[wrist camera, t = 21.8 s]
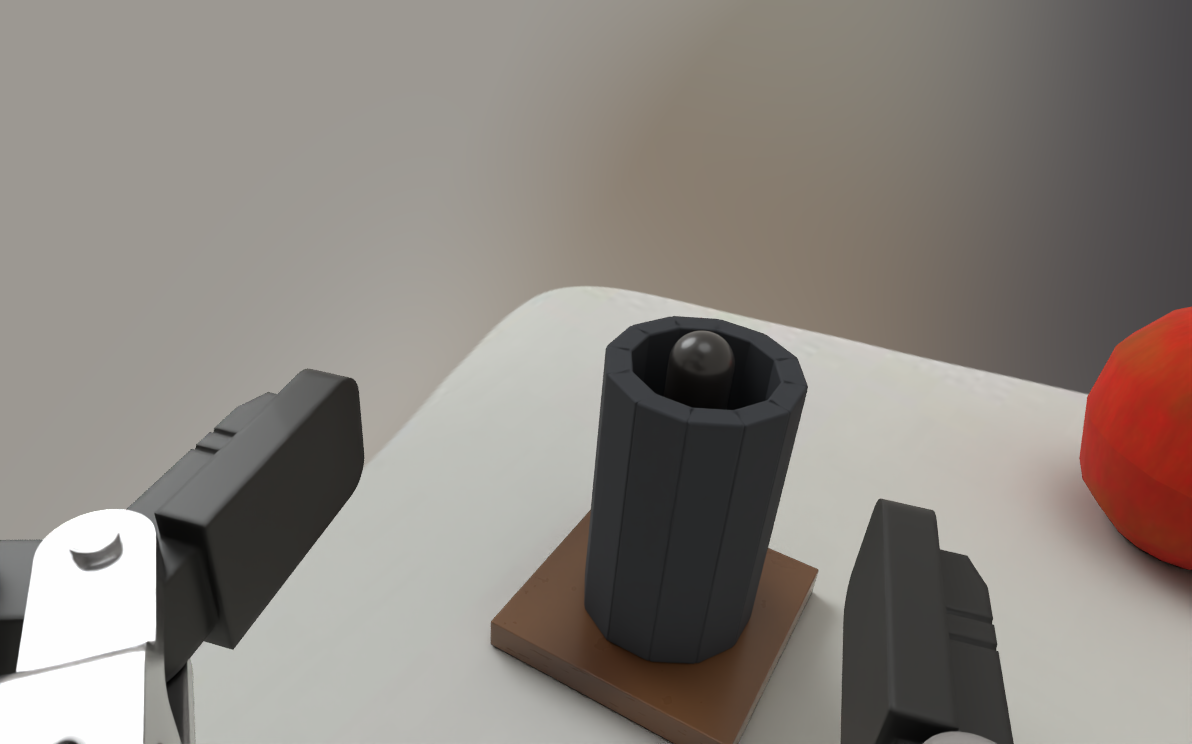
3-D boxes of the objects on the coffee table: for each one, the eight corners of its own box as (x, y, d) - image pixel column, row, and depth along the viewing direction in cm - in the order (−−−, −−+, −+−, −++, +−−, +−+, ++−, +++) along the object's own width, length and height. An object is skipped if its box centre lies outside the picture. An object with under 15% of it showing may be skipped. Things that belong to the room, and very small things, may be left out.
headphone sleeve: (552, 613, 30) (568, 376, 25) (632, 517, 35) (660, 298, 29) (708, 693, 28) (762, 451, 23) (772, 579, 33) (830, 355, 27)
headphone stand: (489, 644, 31) (493, 351, 24) (612, 503, 37) (641, 244, 31) (724, 771, 27) (803, 470, 21) (812, 590, 34) (893, 320, 27)
